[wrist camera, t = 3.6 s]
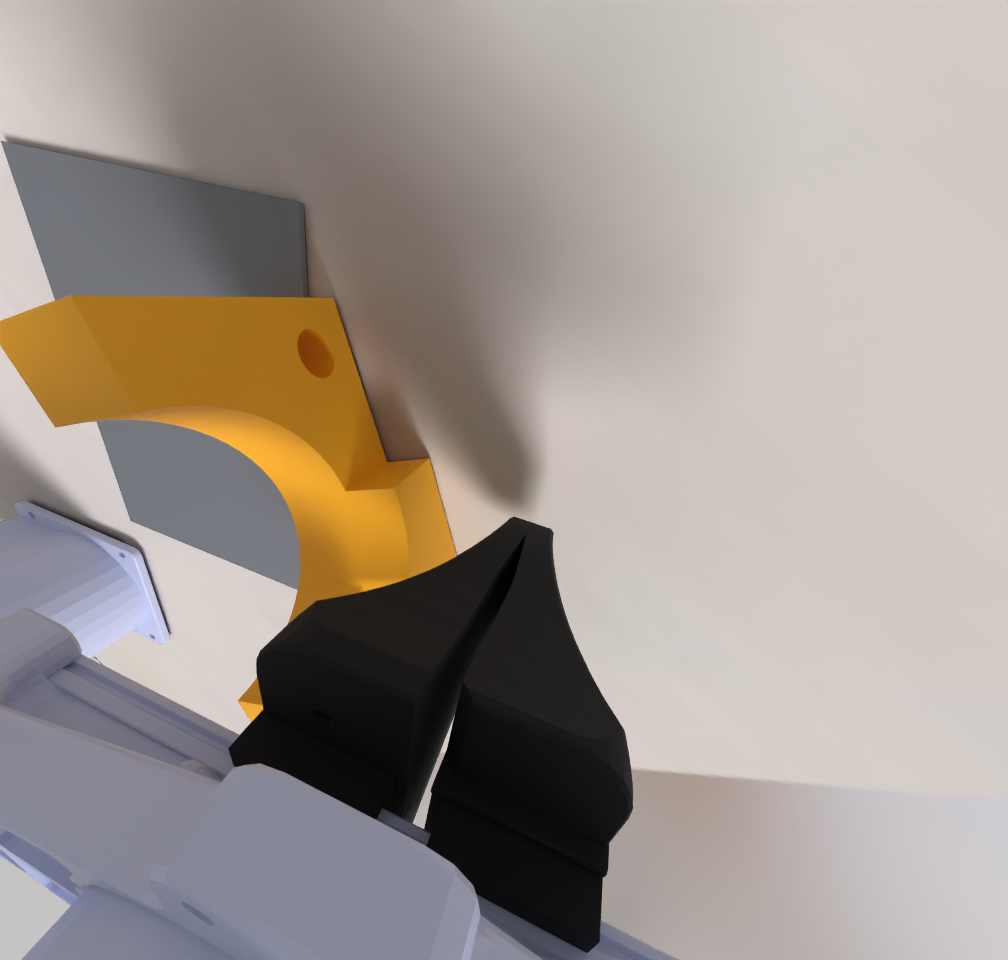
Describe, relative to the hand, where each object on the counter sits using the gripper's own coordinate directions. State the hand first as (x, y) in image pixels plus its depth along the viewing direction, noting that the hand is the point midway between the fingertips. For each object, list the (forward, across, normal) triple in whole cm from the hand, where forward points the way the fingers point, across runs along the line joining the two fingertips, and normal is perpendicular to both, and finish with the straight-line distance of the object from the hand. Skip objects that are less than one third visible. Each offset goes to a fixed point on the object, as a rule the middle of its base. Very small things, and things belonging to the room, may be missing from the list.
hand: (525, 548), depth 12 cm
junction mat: (+2, +15, 0) cm, 15 cm away
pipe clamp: (+2, +6, 0) cm, 6 cm away
